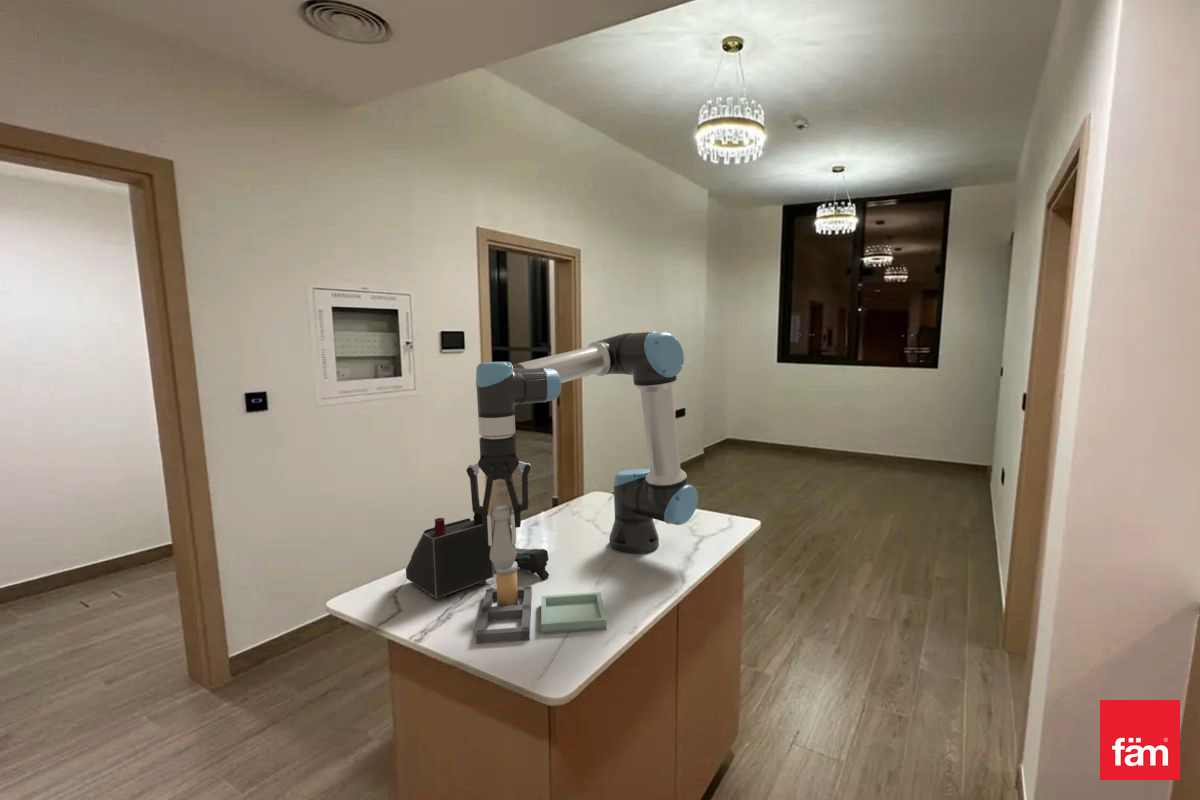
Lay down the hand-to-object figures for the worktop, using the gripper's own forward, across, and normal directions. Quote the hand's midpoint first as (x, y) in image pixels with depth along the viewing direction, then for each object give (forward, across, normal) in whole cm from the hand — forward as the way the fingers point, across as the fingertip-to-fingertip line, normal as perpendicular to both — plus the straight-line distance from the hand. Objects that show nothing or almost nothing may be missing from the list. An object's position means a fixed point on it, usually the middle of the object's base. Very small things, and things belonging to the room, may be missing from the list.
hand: (502, 542), depth 116 cm
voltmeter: (+20, +16, -25) cm, 36 cm away
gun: (+20, -2, -31) cm, 37 cm away
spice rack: (+19, 0, -5) cm, 20 cm away
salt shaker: (+5, 0, 0) cm, 5 cm away
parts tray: (+19, -15, -3) cm, 24 cm away
